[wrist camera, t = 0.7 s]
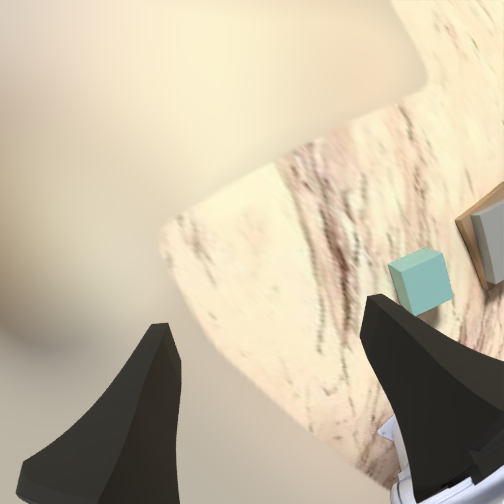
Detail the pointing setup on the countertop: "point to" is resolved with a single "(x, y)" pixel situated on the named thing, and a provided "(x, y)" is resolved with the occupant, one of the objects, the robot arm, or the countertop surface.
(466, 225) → the walnut slab
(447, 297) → the teal block
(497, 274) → the grey square slab
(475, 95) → the countertop surface
